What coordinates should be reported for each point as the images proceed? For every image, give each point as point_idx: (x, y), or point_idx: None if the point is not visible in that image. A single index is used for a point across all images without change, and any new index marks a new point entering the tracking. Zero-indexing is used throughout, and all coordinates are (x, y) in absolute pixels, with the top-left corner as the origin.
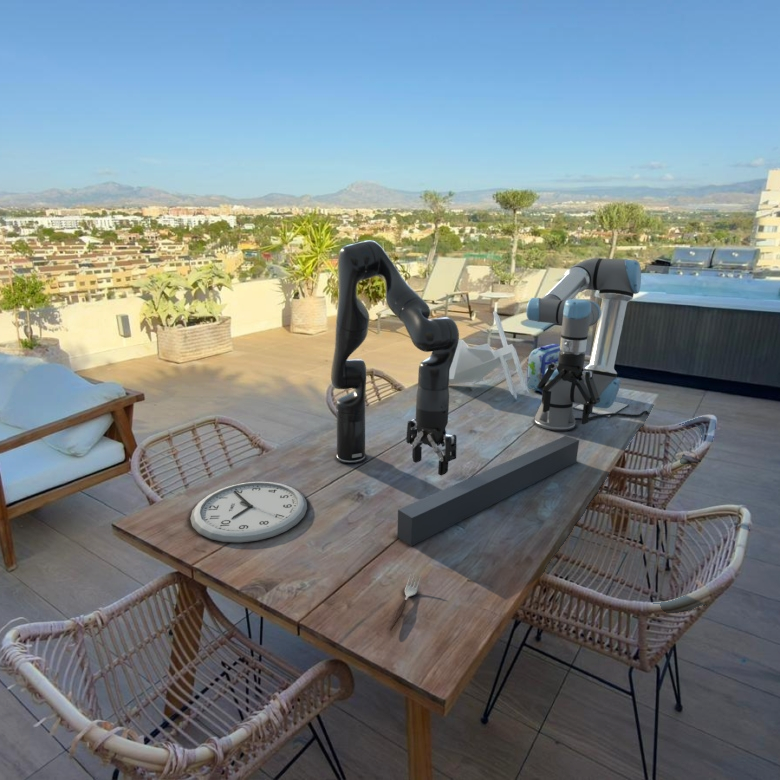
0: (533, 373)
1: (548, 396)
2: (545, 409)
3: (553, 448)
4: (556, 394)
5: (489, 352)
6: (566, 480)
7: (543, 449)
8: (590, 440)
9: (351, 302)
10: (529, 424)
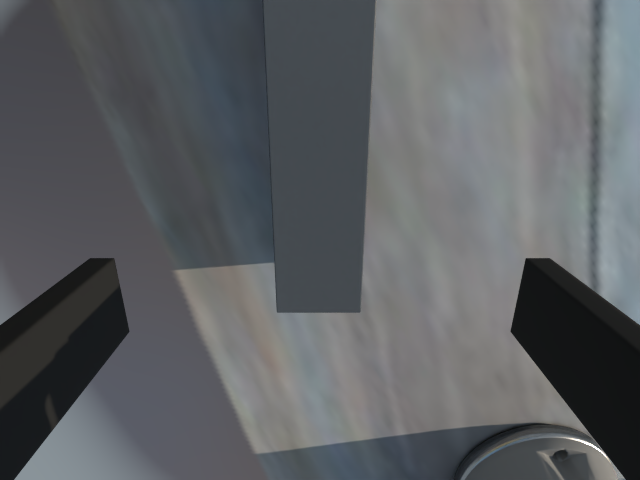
0: None
1: (636, 419)
2: (538, 281)
3: (300, 87)
4: None
5: None
6: (200, 53)
7: (333, 10)
8: (359, 449)
9: None
10: None
